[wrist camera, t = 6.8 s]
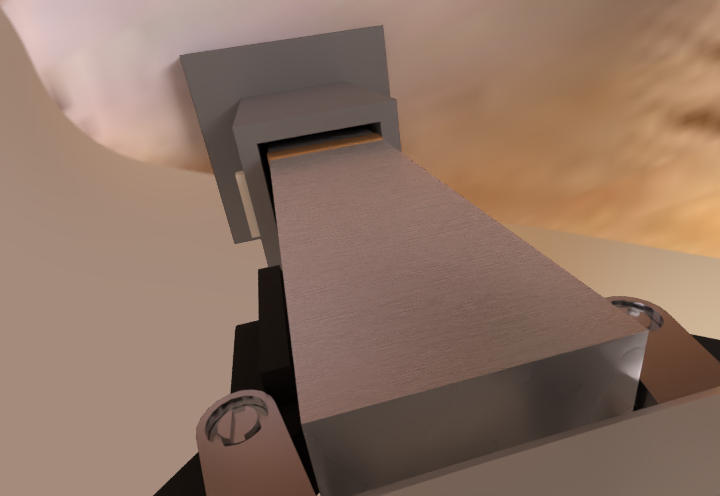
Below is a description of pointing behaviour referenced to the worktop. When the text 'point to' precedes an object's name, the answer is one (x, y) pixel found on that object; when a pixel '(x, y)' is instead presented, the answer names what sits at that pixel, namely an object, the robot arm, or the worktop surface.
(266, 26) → the worktop surface
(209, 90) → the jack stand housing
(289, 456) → the robot arm
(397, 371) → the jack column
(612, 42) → the worktop surface
